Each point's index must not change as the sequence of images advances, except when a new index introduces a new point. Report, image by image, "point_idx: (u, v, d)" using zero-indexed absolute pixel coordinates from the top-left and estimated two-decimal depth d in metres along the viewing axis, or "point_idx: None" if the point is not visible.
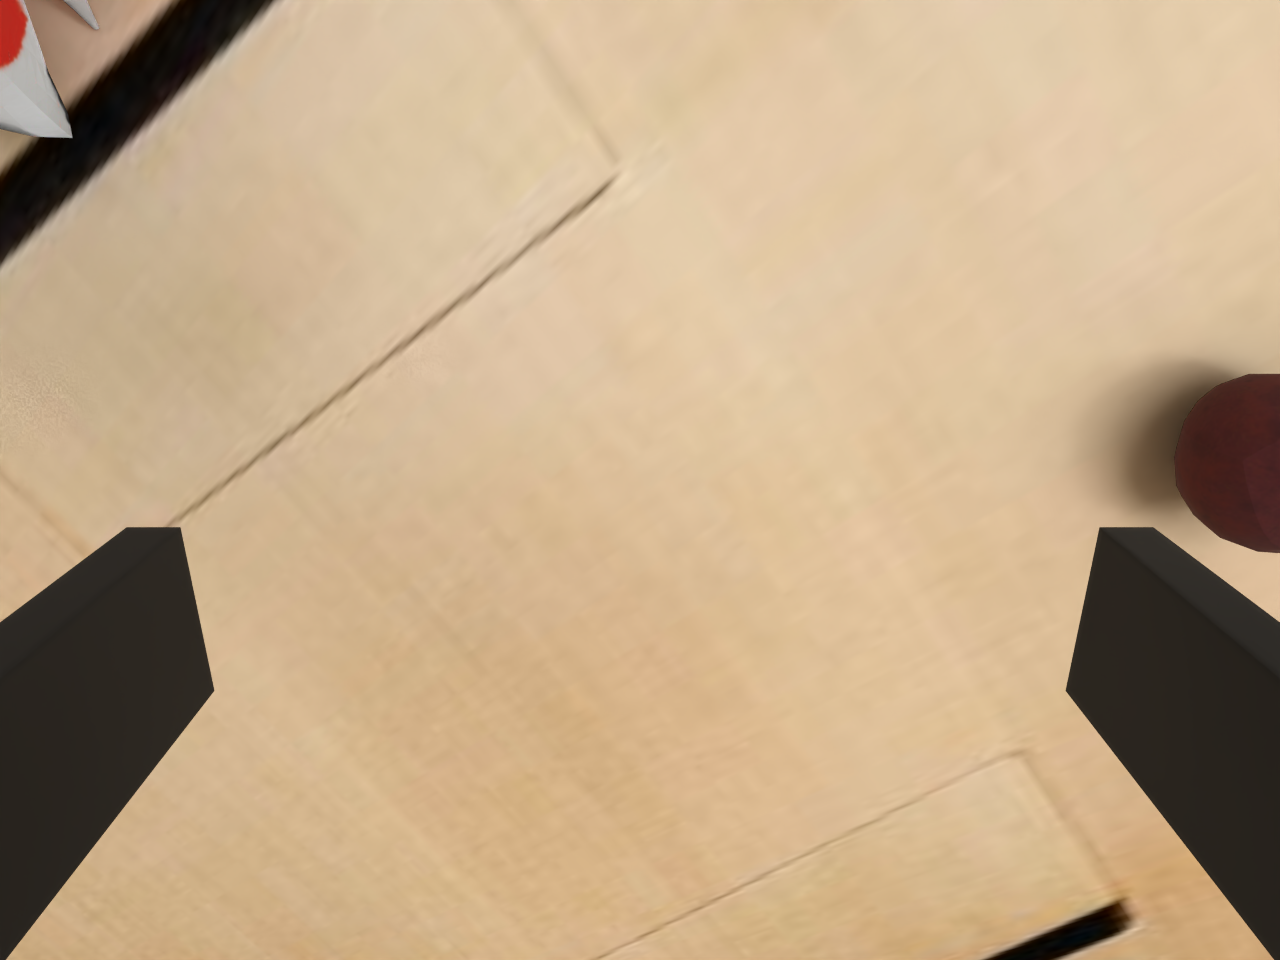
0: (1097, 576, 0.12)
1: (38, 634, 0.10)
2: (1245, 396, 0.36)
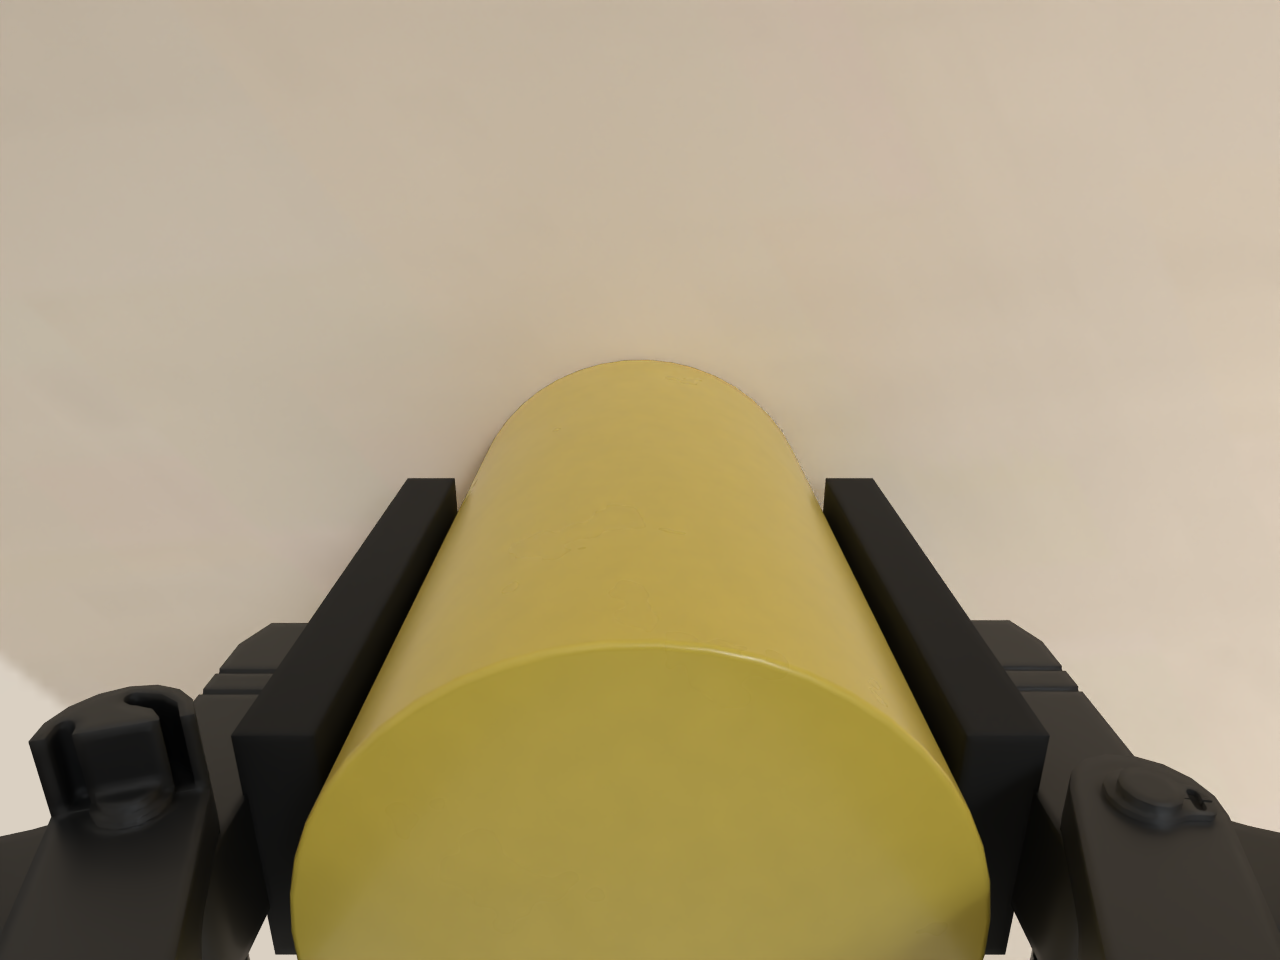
0: None
1: (398, 557, 0.11)
2: None
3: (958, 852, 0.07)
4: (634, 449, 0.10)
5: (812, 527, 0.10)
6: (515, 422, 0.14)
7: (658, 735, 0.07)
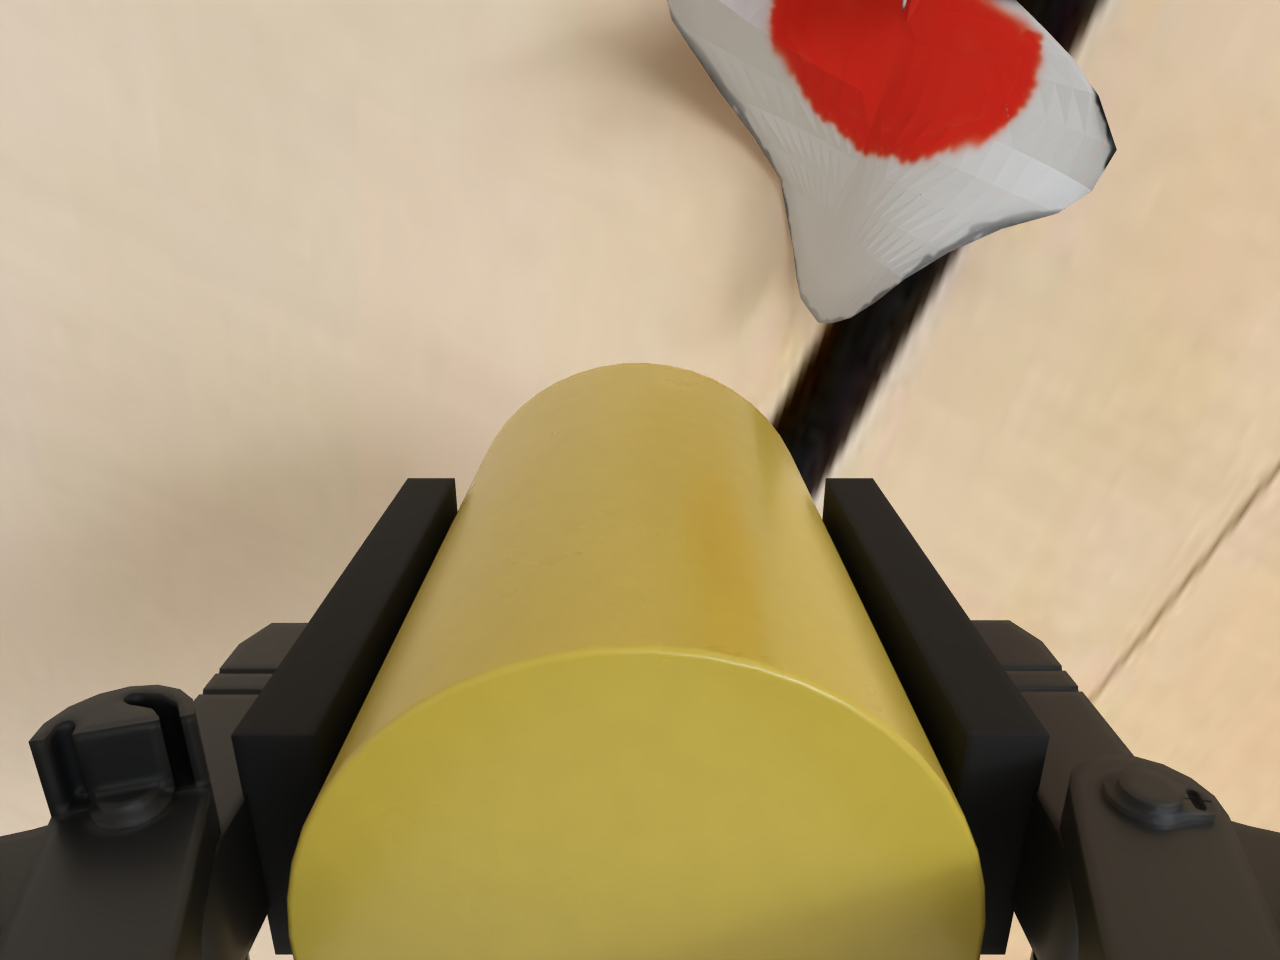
0: (825, 521, 0.14)
1: (399, 557, 0.11)
2: None
3: (953, 857, 0.07)
4: (632, 453, 0.10)
5: (809, 531, 0.10)
6: (513, 425, 0.14)
7: (653, 741, 0.07)
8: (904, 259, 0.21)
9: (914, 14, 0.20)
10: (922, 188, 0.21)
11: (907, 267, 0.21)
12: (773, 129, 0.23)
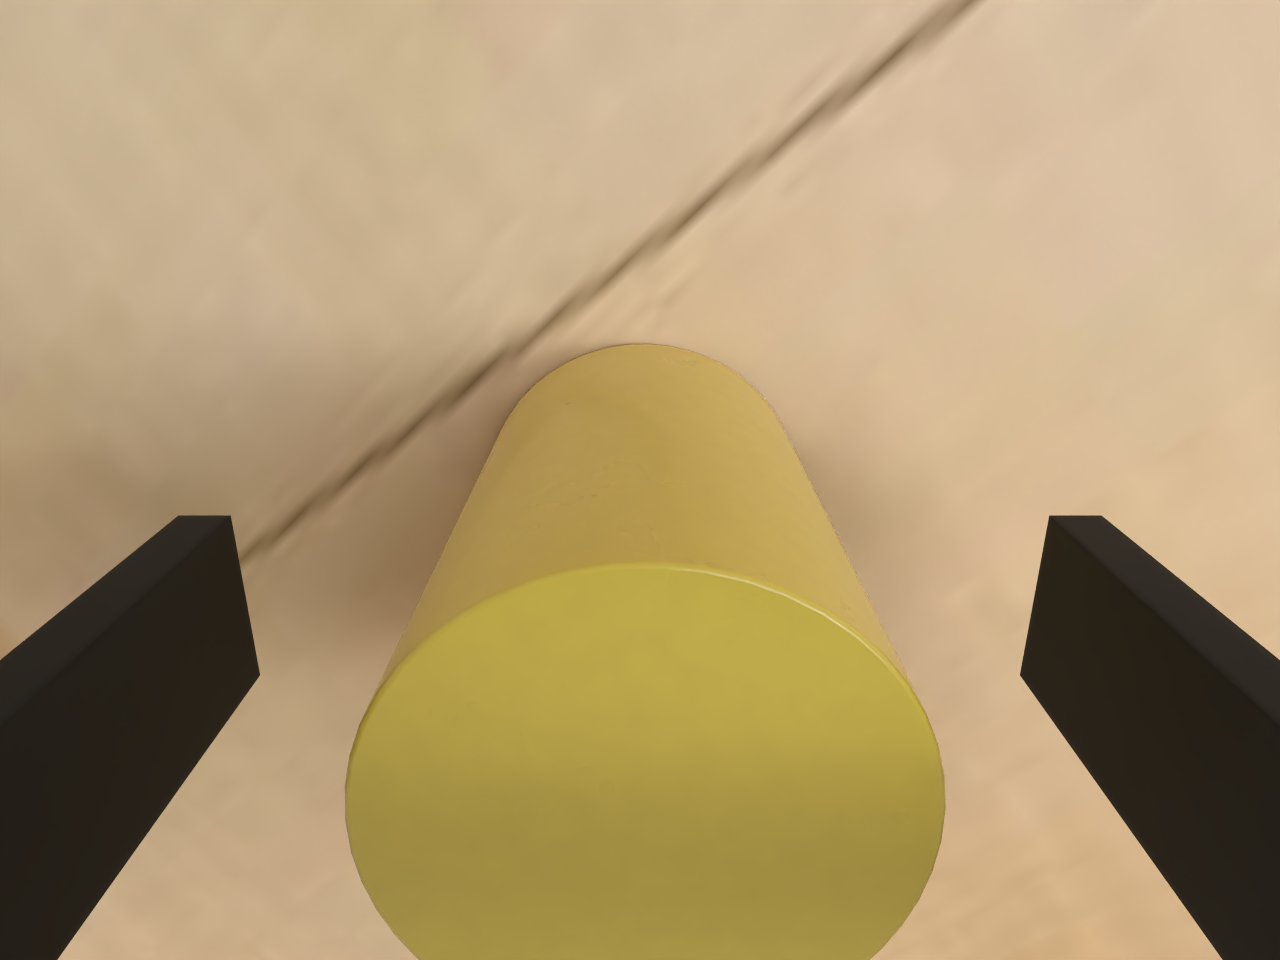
0: (1047, 563, 0.13)
1: (107, 615, 0.10)
2: None
3: (916, 748, 0.08)
4: (639, 418, 0.12)
5: (797, 487, 0.11)
6: (528, 400, 0.15)
7: (659, 645, 0.08)
8: None
9: None
10: None
11: None
12: None
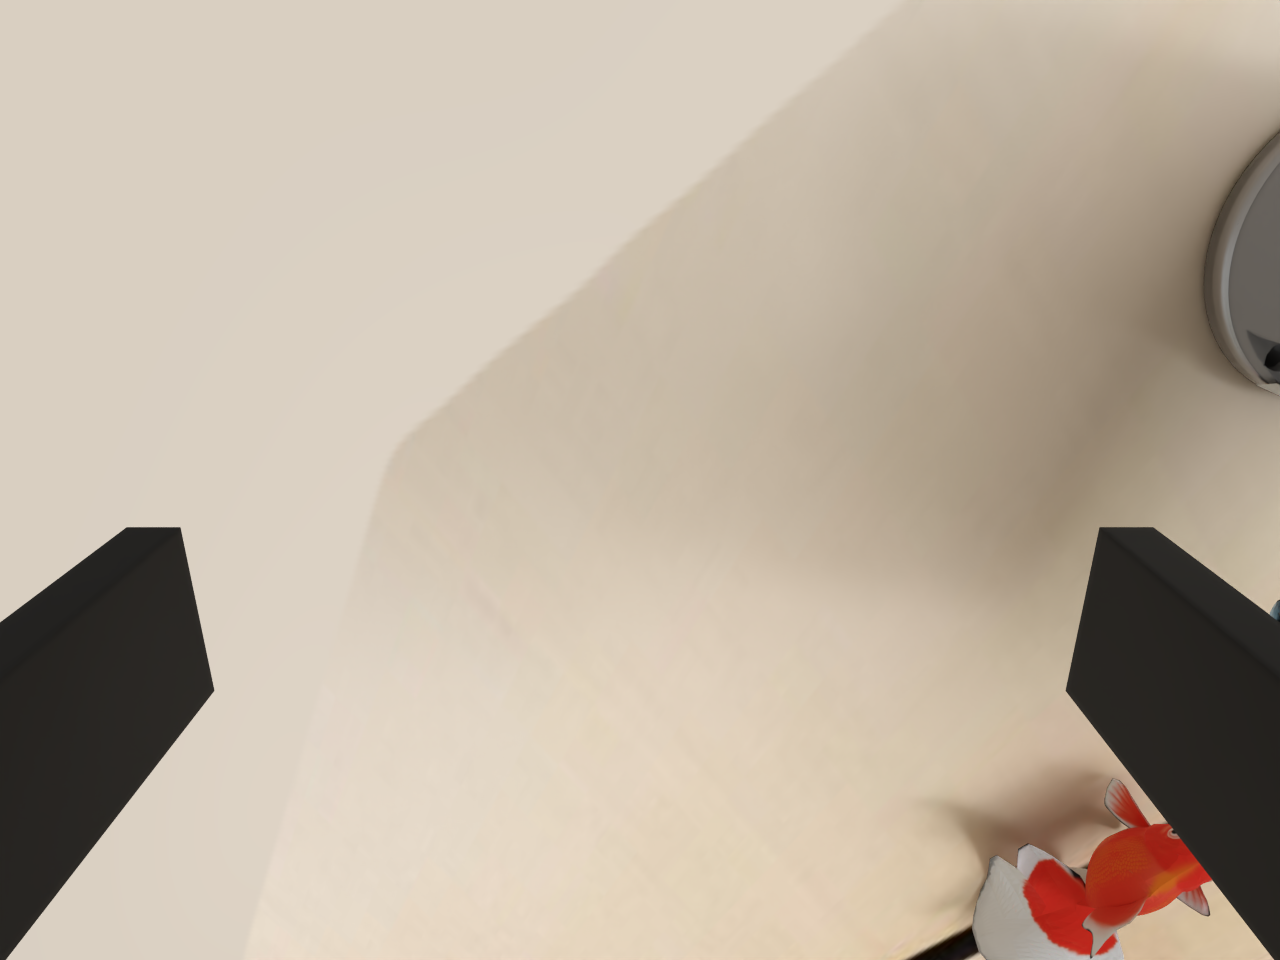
0: (1097, 576, 0.12)
1: (38, 634, 0.10)
2: None
3: None
4: None
5: None
6: None
7: None
8: None
9: (1079, 905, 0.52)
10: (1051, 952, 0.53)
11: None
12: (1000, 876, 0.55)
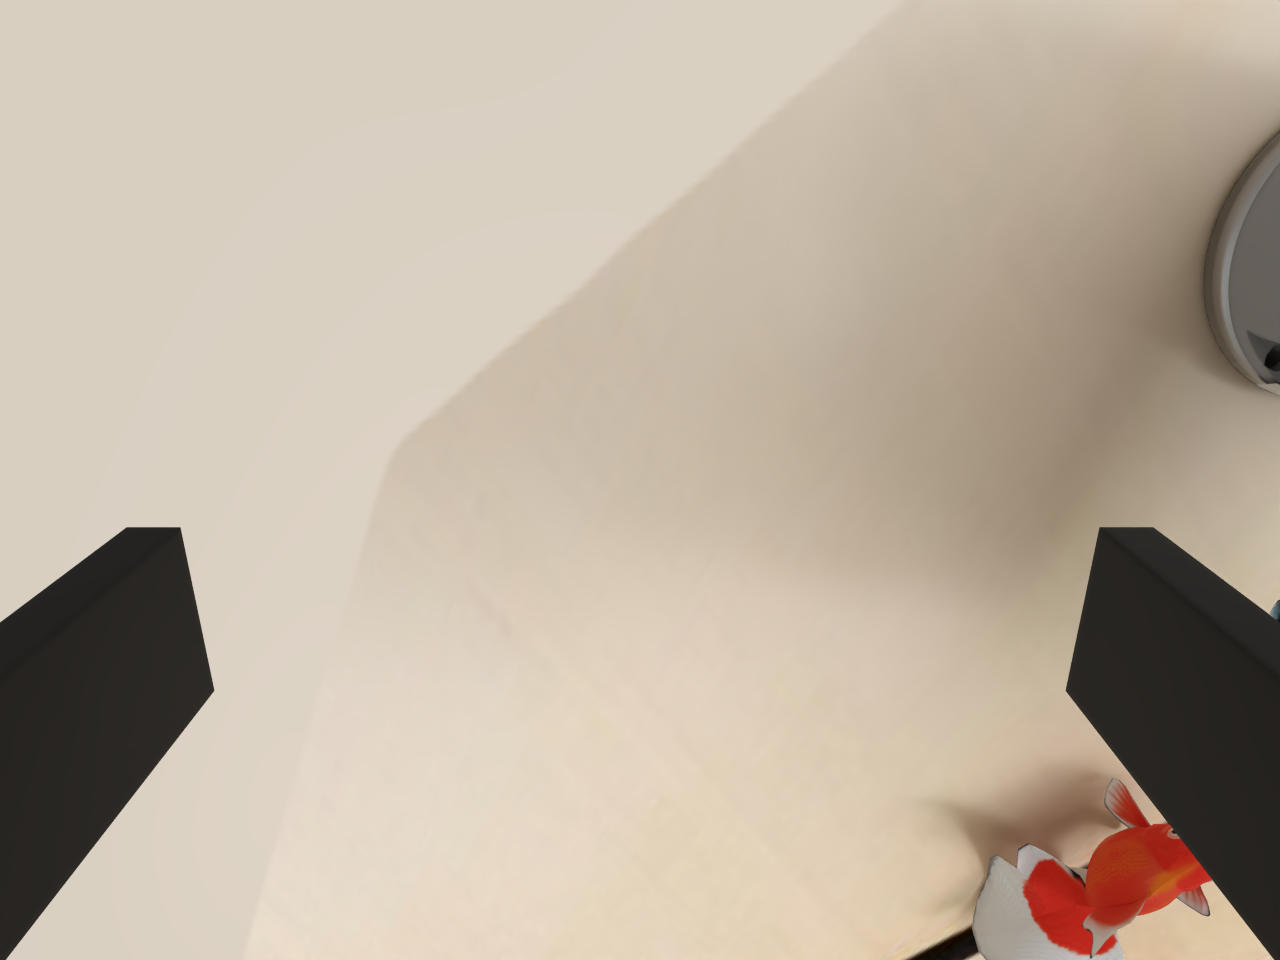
0: (1097, 576, 0.12)
1: (38, 634, 0.10)
2: None
3: None
4: None
5: None
6: None
7: None
8: None
9: (1079, 905, 0.52)
10: (1051, 952, 0.53)
11: None
12: (1000, 876, 0.55)
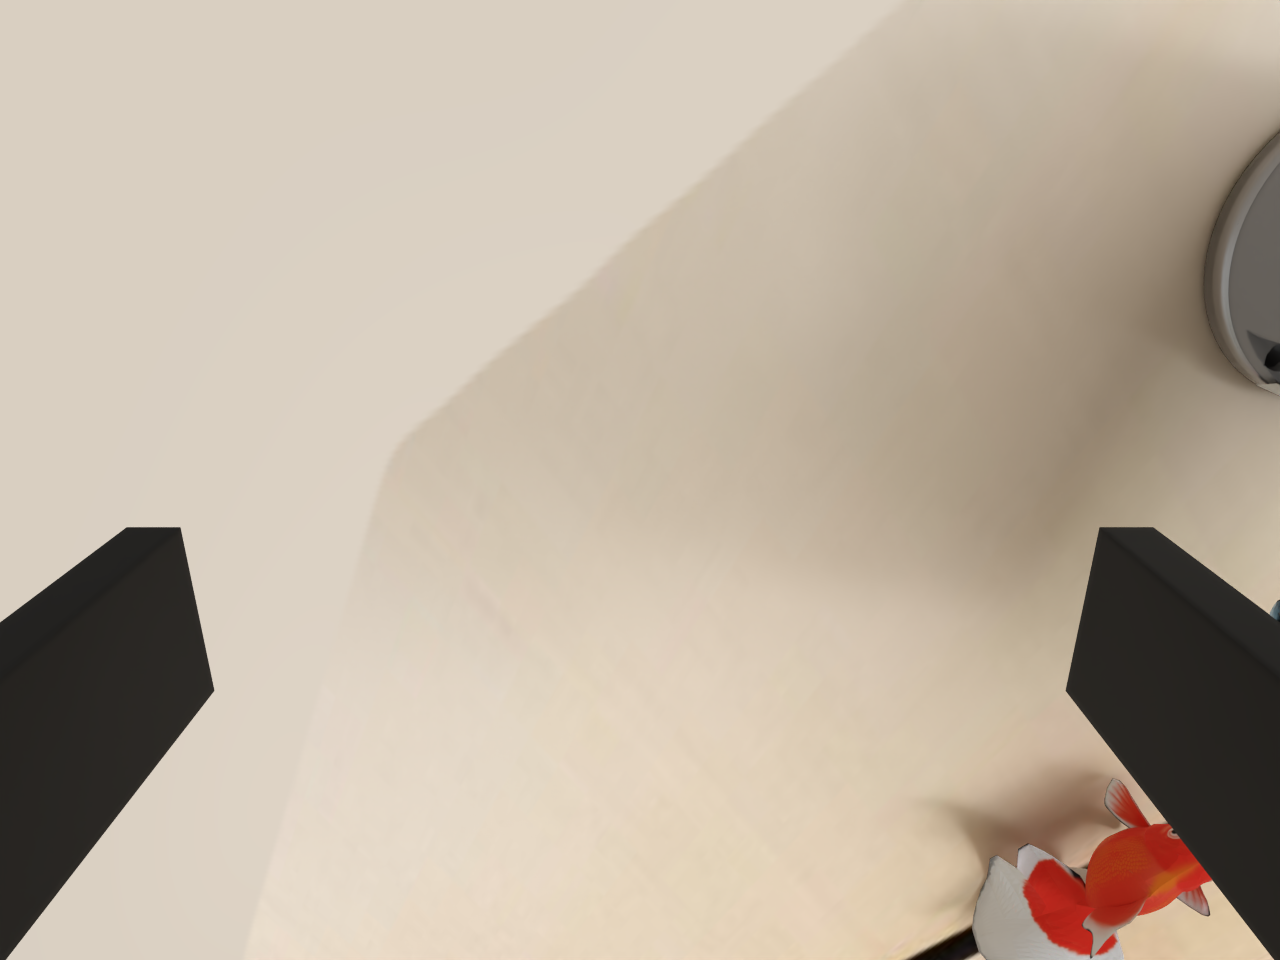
0: (1097, 576, 0.12)
1: (38, 634, 0.10)
2: None
3: None
4: None
5: None
6: None
7: None
8: None
9: (1079, 905, 0.52)
10: (1051, 952, 0.53)
11: None
12: (1000, 876, 0.55)
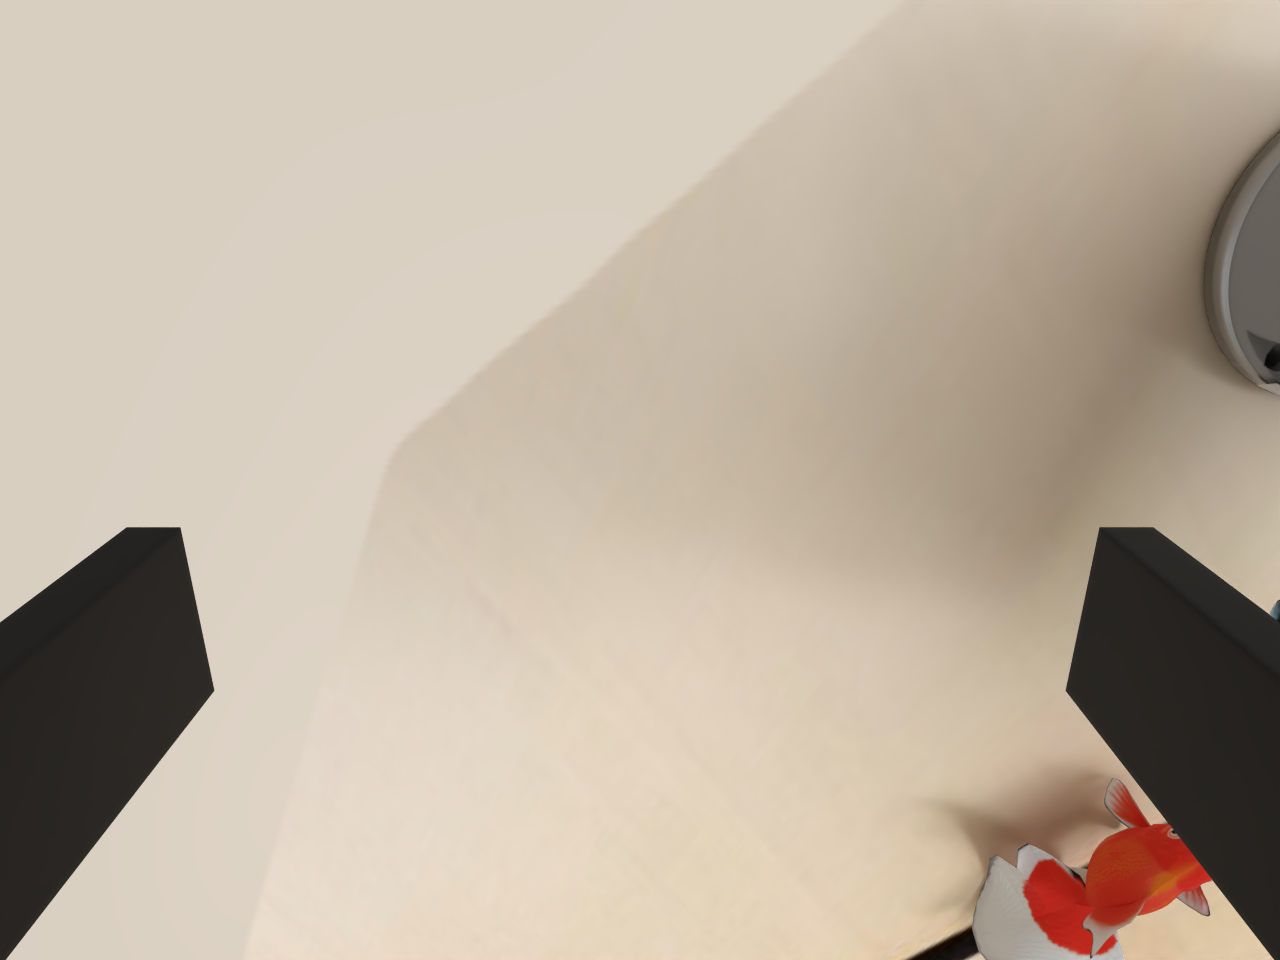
0: (1097, 576, 0.12)
1: (38, 634, 0.10)
2: None
3: None
4: None
5: None
6: None
7: None
8: None
9: (1079, 905, 0.52)
10: (1051, 952, 0.53)
11: None
12: (1000, 876, 0.55)
